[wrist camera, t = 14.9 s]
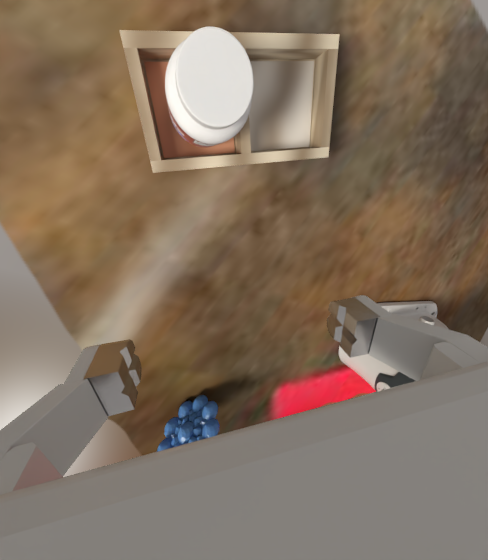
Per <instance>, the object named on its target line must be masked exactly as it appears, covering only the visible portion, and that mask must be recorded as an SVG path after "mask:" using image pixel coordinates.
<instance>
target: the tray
mask: <svg viewBox="0 0 488 560" xmlns="http://www.w3.org/2000/svg"><path fill="white" fill-rule="evenodd" d="M191 33H193V32H189V31H134V30H120V35H121V39H122V43H123V47H124V52H125V56H126V60H127V64H128V69H129V73H130V77H131V81H132V86H133V90H134V94H135V98H136V102H137V107H138V111H139V115H140V119H141V124H142V128H143V132H144V136H145V141H146V145H147V149H148V153H149V158H150V162H151V166H152V170H153V173H156V172H167V171H178V170H189V169H201V168H212V167H223V166H234V165H246V164H257V163H268V162H279V161H291V160H302V159H313V158H324V157H328V156H329V145H330V134H331V123H332V112H333V101H334V90H335V79H336V68H337V57H338V45H339V34H298V33H243V32H229V33H231V34H232V35H233V36H234V37H235V38H236V39H237V40H238V41H239V42H240V43H241V45H242V46H243V48H244V49H245V51H246V53H247V55H248V57H249V60H250V63H251V66H252V71H253V80H254V86H253V94H252V101H251V108H250V112H249V116H248V118H247V121H246V123H245V125H244V126H243V128H242V129H241V130H240V131H239V133H238V134H237V135H235V136H234V137H233V138H231V139H230V140H228V141H226V142H223V143H220V144H217V145H214V146H212V147H206V148H204V147H197V146H194V145H192V144H190V143H188V142H187V141H186V140H184V139H183V138H182V137H181V136H180V134H179V133H178V132H177V130H176V129H175V127H174V125H173V123H172V121H171V118H170V113H169V109H168V104H167V99H166V93H165V75H166V69H167V65H168V62H169V60H170V58H171V55H172V53H173V52H174V50H175V49H176V48H177V46H178V45H179V44H180V43H182V42H183V41H184V40H185V39H187V37H188V36H189V35H190V34H191Z"/></svg>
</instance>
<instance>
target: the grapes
mask: <svg viewBox="0 0 488 560" xmlns="http://www.w3.org/2000/svg"><path fill="white" fill-rule="evenodd" d="M217 412H218V406H217V403H216V402H214V401H209V402H208V399H207V397H206V396H205V395H199V396H198V397H196V399H195V400H194V402H191V401H186V402H184V403H183V404H182V405H181V406H180V408H179V412H178V416H179V418H178V417H173V418H171V419H170V420H169V421H168V422H167V424H166V426H165V432H164V433H165V436H166V437H167V438H165V439H164V440H163V441H162V442H161V443H160V444H159V446H158V449H157V452H158V451H162V450H165V449H169V448H173V447H176V446H180V445H184V444H187V443H191V442H195V441H198V440H202V439H206V438H209V437H213V436H217V434H218V432H219V423H218V421H217V420H216V419H214V418H215V417H216V415H217Z"/></svg>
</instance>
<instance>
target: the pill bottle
mask: <svg viewBox="0 0 488 560" xmlns="http://www.w3.org/2000/svg"><path fill="white" fill-rule="evenodd" d="M253 86H254V80H253V71H252V66H251V63H250V60H249V57H248V55H247V53H246V51H245V49H244V48H243V46H242V45H241V43H240V42H239V41H238V40H237V39H236V38H235V37H234V36H233V35H232V34H231V33H229V32H227V31H226V30H224V29H221V28H217V27H203V28H200V29H198V30H196V31H194V32H193V33H191V34H190V35H189V36H188V37H187V39H185V40H184V41H183V42H182V43H180V44H179V45H178V46H177V48H176V49H175V50H174V52H173V53H172V55H171V58H170V60H169V62H168V65H167V69H166V75H165V93H166V99H167V104H168V109H169V113H170V118H171V121H172V123H173V125H174V127H175V129H176V130H177V132H178V133H179V134H180V136H181V137H182V138H183V139H184V140H186V141H187V142H188V143H190V144H192V145H194V146H197V147H204V148H206V147H212V146H214V145H217V144H220V143H223V142H226V141H228V140H230V139H231V138H233V137H234V136H235V135H237V134H238V133H239V131H240V130H241V129H242V128H243V126H244V125H245V123H246V121H247V118H248V116H249V112H250V108H251V101H252V94H253Z"/></svg>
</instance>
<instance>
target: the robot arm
mask: <svg viewBox="0 0 488 560" xmlns="http://www.w3.org/2000/svg"><path fill="white" fill-rule="evenodd" d="M329 311H330V313H331V314H330V316H329V317H328V318H327V328H328V331H329V333H330V335H331V336H332V338H333V339H334V340H337V341H339V342H340V347H339V357H340V359H341V361H342V362H343V363H344V364H346V365H347V366H349V367H350V368H351V369H353V370H354V371H355V372H356V373H358V374H359V375H360V376H361V377H362V378H363V379H364V380H366V381H367V382H368V383H369V384H370V385H371V386H372V387H373V388H374V389H375V390H376V392H374V393H370V394H367V395H363V396H359V397H356V398H352V399H348V400H345V401H341V402H337V403H334V404H330V405H326V406H323V407H319V408H315V409H312V410H308V411H304V412H301V413H297V414H294V415H290V416H286V417H283V418H279V419H275V420H272V421H268V422H264V423H261V424H257V425H253V426H250V427H246V428H242V429H239V430H235V431H231V432H228V433H224V434H220V435H217V436H213V437H209V438H206V439H202V440H198V441H195V442H191V443H187V444H184V445H180V446H176V447H173V448H169V449H165V450H162V451H158V452H154V453H151V454H147V455H143V456H140V457H136V458H132V459H129V460H125V461H121V462H118V463H114V464H111V465H107V466H103V467H100V468H96V469H92V470H89V471H85V472H82V473H78V474H74V475H71V476H67V477H63V475H64V474H65V473H66V472H67V470H68V469H69V468H70V466H71V465H72V463H73V462H74V461H75V460H76V459H77V457H78V456H79V455H80V453H81V452H82V451H83V449H84V448H85V447H86V445H87V444H88V443H89V442H90V440H91V439H92V438H93V436H94V435H95V434H96V433H97V431H98V430H99V429H100V427H101V426H102V425H103V423H104V422H105V421H106V420H107V418H108V417H107V416H111V415H114V414H118V413H122V412H126V411H129V410H133V409H134V408H135V404H136V399H137V394H138V391H137V389H136V386H137V385H138V384H139V383H140V380H141V363H140V360H139V357H138V356H137V355H135V354H134V351H135V346H134V344H133V341H132V340H124V341H118V342H112V343H106V344H102V345H95V346H90V347H86V348H85V349H83V351H82V352H81V354H80V356H79V358H78V360H77V361H76V363H75V365H74V367H73V368H72V370H71V372H70V374H69V376H68V377H67V379H66V381H65V383H64V384H60V385H58V386H57V387H55V388H54V389H53V390H52V391H50V392H49V393H48V394H47V395H45V396H44V397H42V398H41V399H40V400H39V401H37V402H36V403H35V404H34V405H33V406H31V407H30V408H28V409H27V410H26V411H25V412H23V413H22V414H21V415H19V416H18V417H17V418H16V419H15V420H13V421H12V422H10V423H9V424H8V425H7V426H5V427H4V428H3V429H1V430H0V560H488V347H487V346H485V345H483V344H482V343H480V342H478V341H477V340H475V339H473V338H472V337H470V336H468V335H465V334H462V333H459V332H455V331H452V330H449V329H448V328H447V326H446V325H445V324H443V323H442V322H441V321H439V320H438V319H436V317H437V306H436V304H435V303H434V302H432V301H417V302H391V303H375V302H374V301H373V300H371V299H370V298H368V297H367V296H364V295H361V296H356V297H352V298H348V299H343V300H338V301H333V302H331V303H330V305H329Z"/></svg>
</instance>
